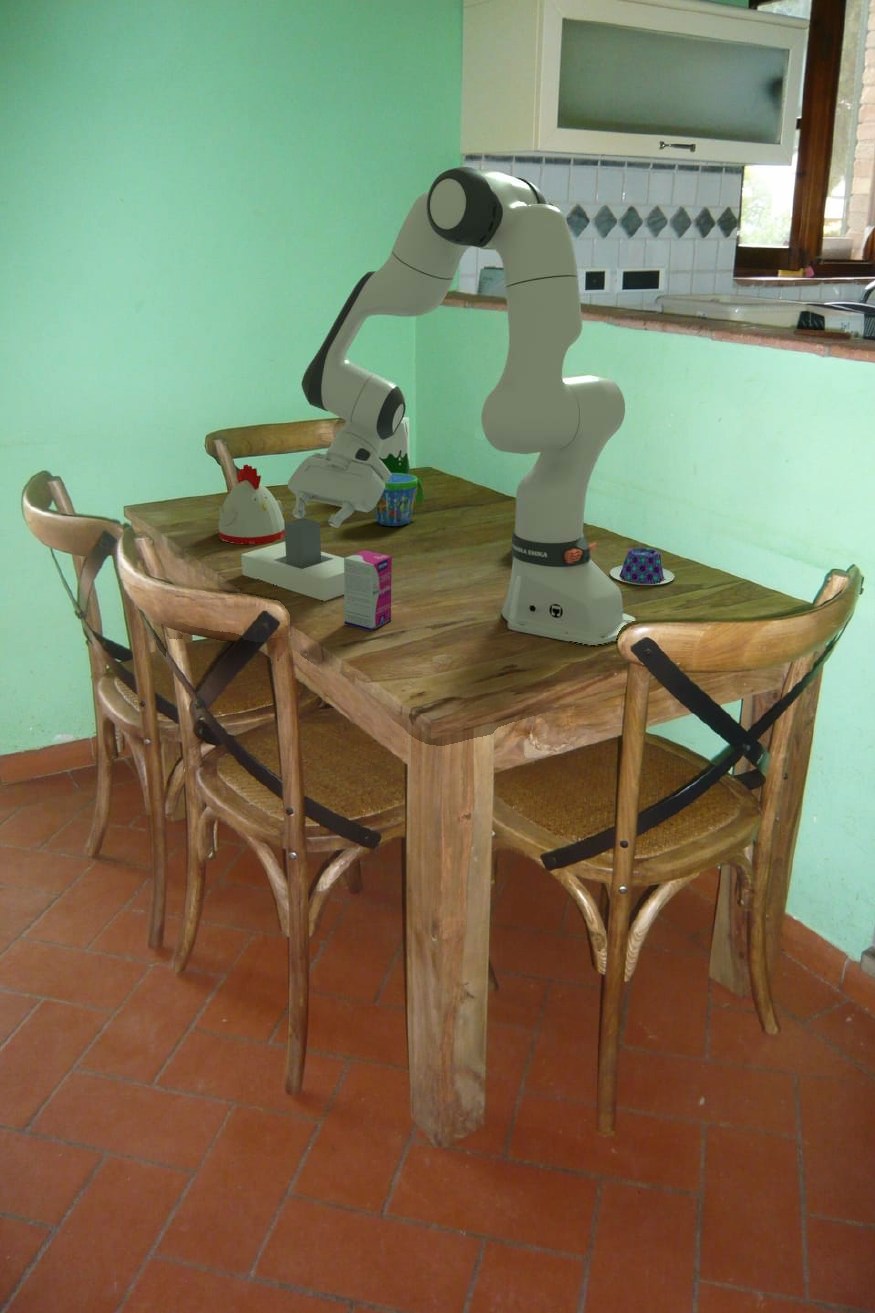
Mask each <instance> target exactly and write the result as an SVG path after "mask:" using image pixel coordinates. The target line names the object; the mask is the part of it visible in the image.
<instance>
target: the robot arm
mask: <svg viewBox="0 0 875 1313" xmlns="http://www.w3.org/2000/svg"><path fill="white" fill-rule="evenodd" d="M544 196H545V195H543V193H542V192H541V190H540V189H539V188H538V187H537V186H535V185H534V184H533V183H532V182H530V181H528V180H526V179H524V178H522V177H514V176H512V175H508V174H506V173H502V172H501V171H498V170H494V169H487V168H473V167H470V166H460V167H454V168H450V169H448V170H445V171H443V172H442V173H440V174H438V176H437V177H436V178H435V179H434V181H433V182H432V184H431V185H430V188H429V191H427V192H424V193H422V194H420V195H419V196H418V197H417V198H416V200H415V201H414V203H413V205H412V207H411V208H410V209H409V211H408V213H407V215H406V217H405V219H404V221H403V223H402V224H401V227H400V228H399V231H398V233H397V236H396V238H395V241H394V243H393V246H392V249H391V252H390V255H389V257H388V258H387V260H386V261H385V263H384V264H383V265H382V266H381V267H380V268H379V269H378V270H375V271H368V272H366V273H365V274H364V275H363V276H362V277H361V278H360V279H359V281H358V282H357V283H356V285H354V288H353V289H352V291H351V292H350V294H349V296H348V298H347V299H346V301H345V302H344V305H343V306H342V308H341V310H340V312H339V314H338V315H337V317H336V318H335V320H334V322H333V324H332V326H331V328H330V329H329V332H328V334H327V335H326V337H325V339H324V341H323V342H322V344H321V346H320V348H319V349H318V351H317V353H316V354H315V356H314V358H313V359H312V360H311V361H310V363H309V364H308V365H307V368H306V369H305V370H304V371H305V372H304V374H303V376H302V379H301V384H300V385H301V389H302V391H303V394H304V396H305V398H306V400H307V402H308V404H309V405H310V406H313V407H314V408H317V409H320V410H323V411H325V412H328V413H331V414H333V415H335V416H337V417H339V418H341V419H343V420H345V421H346V422H345V424H344V426H343V427H342V428H341V429H340V430H338V432H337V434H335V437H334V438H333V440H332V441H331V444H330V446H329V447H328V449H327V450H326V452H325V453H324V454H322V453H321V452H315V453H314V454H312V455H310V456H307V457H306V458H304V460H303V461H302V462H301V463H300V464H299V465H298V466H297V468H296V469H295V471H293V473H292V475H291V476H290V478H289V479H288V481H287V488H288V490H289V491H290V492H291V493H292V494H293V495H294V496H295V507H294V508H293V510H292V512H291V513H292V516H294V517H295V519H300V518H304V517H305V515H306V514H307V511H306V510H305V506H306V505H308V503H309V502H310V501H314V502H320V503H323V504H328V505H331V506H337V507H341V508H340V509H339V510H338V511H337V512H336V513H334V514H333V513H332V514H331V515H330V516H329V518H328V522H327V523H328V524H329V525H330V527H333V528H340V526H341V524H342V523H343V522H344V521H345V520H347V518H349V517H350V516H351V515H353V513H354V511H359V512H364V513H366V512H369V511H372V510H375V506H376V505H377V503H378V501H379V499H380V497H381V495H382V493H383V491H384V489H385V482H388V481H389V479H390V478H391V473H390V471H389V470H388V468H387V467H386V466H385V465H384V463H383V462H382V461H381V460H380V459H379V456H380V451H381V448H382V447H383V445H384V444H385V443H386V442H387V441H388V440H389V439H390V437H391V436H393V435H394V433H395V432H396V430H397V428H398V426H399V425H400V423H401V421H402V419H403V417H405V414H406V410H407V409H406V396H405V394H404V391H403V390H402V389H401V388H400V386H398V385H397V384H396V383H395V382H393V381H391V380H389V379H386V378H384V377H383V376H381V375H379V374H378V373H374V372H372V371H371V370H370V371H369V370H367V369H366V368H364V367H362V366H360V365H358V364H356V363H354V362H352V361H351V360H350V359H349V358H348V355H347V353H348V350H349V349H350V347H351V345H352V344H353V342H354V340H355V339H356V337H357V334H358V333H359V331H360V330H361V327H362V326H363V324H364V322H365V321H366V320H367V318H368V317H371V316H379V315H380V316H381V315H382V316H393V317H394V316H395V317H403V318H407V317H408V318H409V317H419V316H423V315H426V314H429V313H431V312H433V311H435V310H436V309H437V308H438V307H439V306H441V305H442V303H443V301H444V299H445V298H446V297H447V295H448V292H449V290H450V288H451V286H452V283H453V280H454V279H455V277H456V274H457V271H458V268H459V265H460V262H461V260H462V257H463V256H464V253H466V251H467V250H469V249H470V248H471V247H475V248H479V249H481V250H489V251H496V252H497V254H498V255H499V258H500V259H501V263H502V268H503V275H504V277H503V278H504V279H503V280H504V288H505V298H506V308H507V309H506V310H507V320H508V350H507V351H508V352H507V356H506V360H505V364H504V368H503V371H502V374H501V376H500V378H499V380H498V381H497V383H496V385H495V386H494V388H493V389H492V391H491V392H489V394H488V395H487V397H486V399H485V401H484V403H483V406H482V408H481V409H482V411H481V426H482V431H483V433H484V435H485V438H486V440H487V441H488V442H489V444H490V445H491V446H492V447H493V448H494V449H496V450H497V451H499V452H503V453H510V454H520V455H521V454H522V455H530V454H537V453H539V454H538V455H539V456H538V457H537V459H536V461H535V464H533V467H532V468H531V469H530V470H529V471H528V472H527V473H526V475H524V476H523V478H522V479H520V481H519V482H518V483H519V484H518V485H517V488H516V494H515V495H516V497H515V515H514V516H515V517H514V522H515V523H514V531H512V535H511V548H510V549H511V551H510V552H511V553H510V554H511V558H512V566H511V574H510V579H509V586H508V590H507V594H506V595H507V596H506V598H505V599H506V600H505V601H504V605H503V608H502V610H501V615H502V617H503V618H504V619H505V620H506V622H507V628H508V629H509V630H512V631H515V632H521V633H525V634H530V635H535V636H540V637H545V638H550V639H555V640H560V641H565V642H569V641H573V642H572V643H574V642H578V643H577V644H579V643H583V644H582V645H584V644H588V645H587V646H590V645H594V644H601V643H606V642H609V641H613V642H616V641H617V640H616V638H617V635H618V633H619V631H620V630H621V628H622V627H623V626H624V625H626V624H628V623H631V622H632V621H636V618H635V617H634V616H632V615H630V614H627V613H626V612H625V613H624V605H623V598H622V597H623V596H622V592H621V590H620V588H619V586H618V585H617V584H616V583H614V581H613V580H611V579H610V577H608V576H607V575H606V573H604V571H602V569H601V568H600V567H599V566H598V565H597V564H596V563H595V562H594V561H593V560H592V559H591V558H592V556H591V552H592V551H594V550H596V549H597V547H595V546H596V545H597V542H593V543H592V542H591V543H589V544H588V542H587V539H586V536H585V534H584V533H583V531H584V521H585V508H586V498H587V492H588V487H589V483H590V480H591V477H592V474H593V471H594V469H595V466H596V463H597V462H598V458H599V456H600V455H601V453H602V452H603V449H604V448H605V446H606V445H607V443H608V442H609V440H610V439H611V438H612V437H613V436H614V435H615V434H616V433H617V432H618V431H619V430H620V429H621V426H622V424H623V422H624V419H625V414H626V402H625V397H624V394H623V391H622V390H621V388H620V387H619V385H617V383H616V382H615V381H613V380H612V379H610V378H607V377H602V376H598V375H592V374H584V373H583V374H574V375H565V376H563V366H564V361H565V357H566V355H567V352H568V350H569V348H570V347H571V346H572V345H573V344H574V343H576V341H577V340H578V339H579V337H580V336H581V333H582V330H583V319H582V318H583V317H582V307H581V306H582V304H581V297H580V285H579V275H578V274H579V273H578V266H577V260H576V255H575V254H576V253H575V249H574V243H573V240H572V235H571V232H570V228H569V225H568V221H567V218H566V216H565V215H564V213H563V211H561V210H560V208H557V207H556V206H554V205H550V204H547V202H546V198H545V197H544Z"/></svg>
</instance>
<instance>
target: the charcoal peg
mask: <svg viewBox="0 0 875 1313" xmlns="http://www.w3.org/2000/svg"><path fill="white" fill-rule="evenodd" d="M320 524H321V522H320V521H317V520H316V521H315V520H312V519H308V518H300V519H299V518H296V519H294V520H290V521H286V522H284V528H285V536H284V542H285V546H286V563H287V565H290V566H294V567H297V568H300V569H304V568H307V567H310V566H313V565H317V564H320V563H321V552H322V548H321V546H322V545H321V525H320Z"/></svg>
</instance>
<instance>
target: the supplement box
mask: <svg viewBox="0 0 875 1313" xmlns="http://www.w3.org/2000/svg"><path fill="white" fill-rule="evenodd" d="M343 558H344V594H343V595H344V596H343V598H344V603H343V604H344V605H343V606H344V607H343V608H344V618H343V619H344V621H343V622H344V625H345V624H346V625H345V626H348V625H350V626H349V627H353V626H354V627H355V628H357V629H361V630H365V631H369V632H372V631H375V630H376V629H378V628H379V627H381V626H384V625H385V624H387V623H386V622H388V621H390V622H391V621H392V576H393V575H392V573H393V572H392V566H393V565H392V564H393V563H392V561H393V558H392V556H391V555H388V554H387V555H386V554H382V553H377V552H373V551H369V550H363V551H362V550H361V551H360V552H357V553H354V554H352V555H349V556H346V557H343ZM384 623H385V624H384ZM388 623H389V622H388Z"/></svg>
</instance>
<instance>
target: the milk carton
mask: <svg viewBox="0 0 875 1313" xmlns="http://www.w3.org/2000/svg"><path fill="white" fill-rule="evenodd" d="M410 440H411V439H410V417H409V416H408V417H407V416H404V417H403V419H402V421H401V423H400V425H399V426H398V428H397V430H396V432H395V433H394V435H393V436H391V437H390V439H389V440H388V441H387V442H386V443H385V444H384V445H383V447H382V448H381V451H380V456H379V459H380V460H381V461H382V462H383V463H384V465H385V466H386V467H387V468H388V470H389V471H390V473H404V474H410V472H411V458H410V457H411V451H410V450H411V447H410V445H411V444H410V443H411V441H410ZM410 475H411V474H410Z"/></svg>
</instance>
